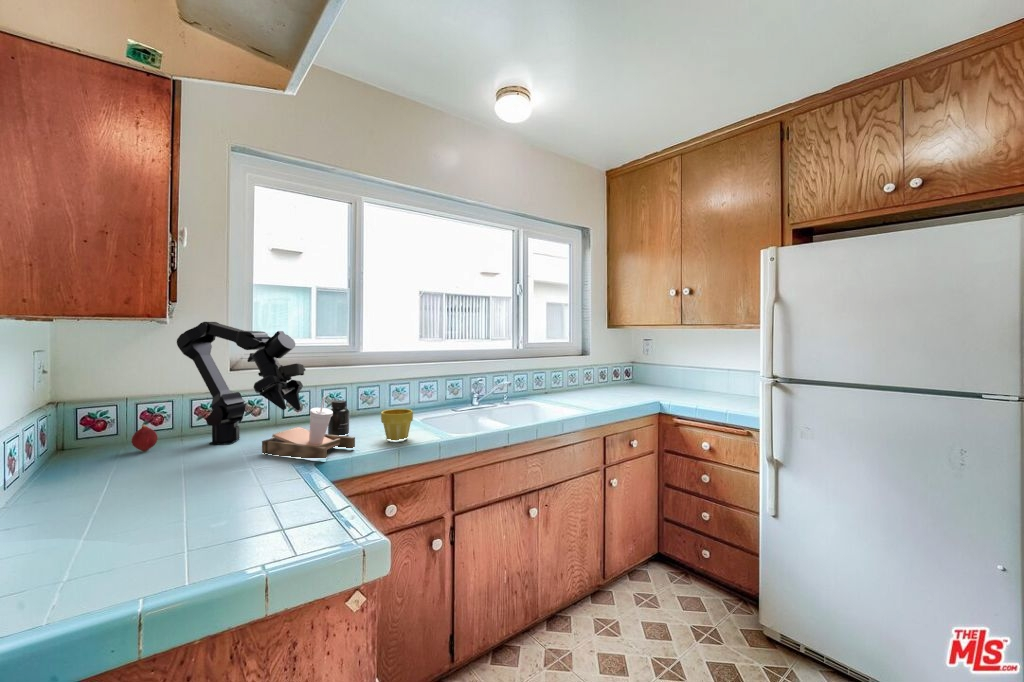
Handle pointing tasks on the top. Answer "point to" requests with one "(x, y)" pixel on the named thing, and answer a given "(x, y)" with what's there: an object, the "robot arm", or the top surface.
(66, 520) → the top surface
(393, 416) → the plant pot
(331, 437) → the frame
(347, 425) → the supplement bottle
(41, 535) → the top surface
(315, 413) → the smoothie
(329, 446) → the trapdoor
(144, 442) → the onion
